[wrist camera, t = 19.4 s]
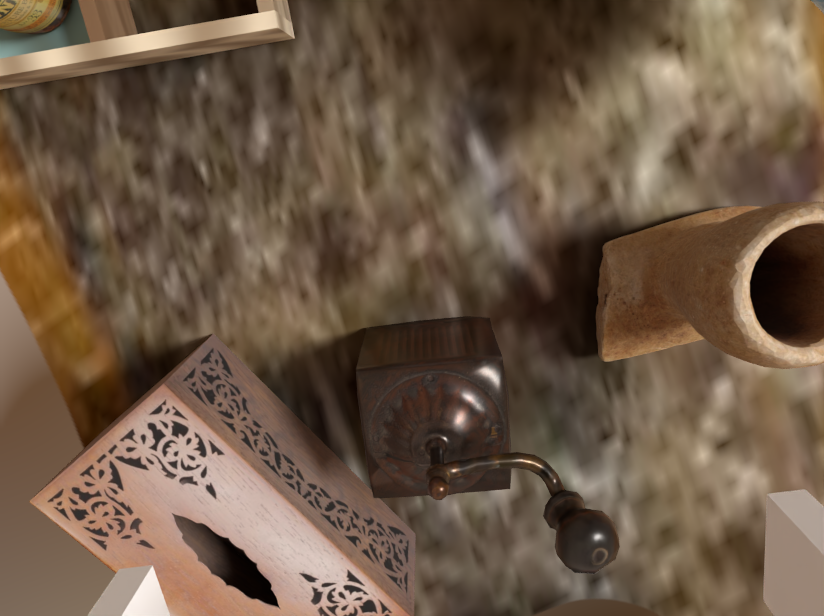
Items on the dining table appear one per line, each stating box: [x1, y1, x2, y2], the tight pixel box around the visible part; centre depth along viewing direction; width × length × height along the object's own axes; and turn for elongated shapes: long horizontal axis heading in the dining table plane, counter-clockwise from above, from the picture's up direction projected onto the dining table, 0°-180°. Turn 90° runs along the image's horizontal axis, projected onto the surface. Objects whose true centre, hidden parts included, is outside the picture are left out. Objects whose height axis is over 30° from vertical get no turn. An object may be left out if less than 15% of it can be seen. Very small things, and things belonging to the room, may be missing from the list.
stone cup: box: [596, 202, 824, 369], centre depth 39 cm, size 15×12×15 cm
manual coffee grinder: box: [356, 317, 619, 574], centre depth 40 cm, size 16×11×18 cm
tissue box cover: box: [29, 334, 415, 616], centre depth 48 cm, size 26×14×10 cm, turn 41°
